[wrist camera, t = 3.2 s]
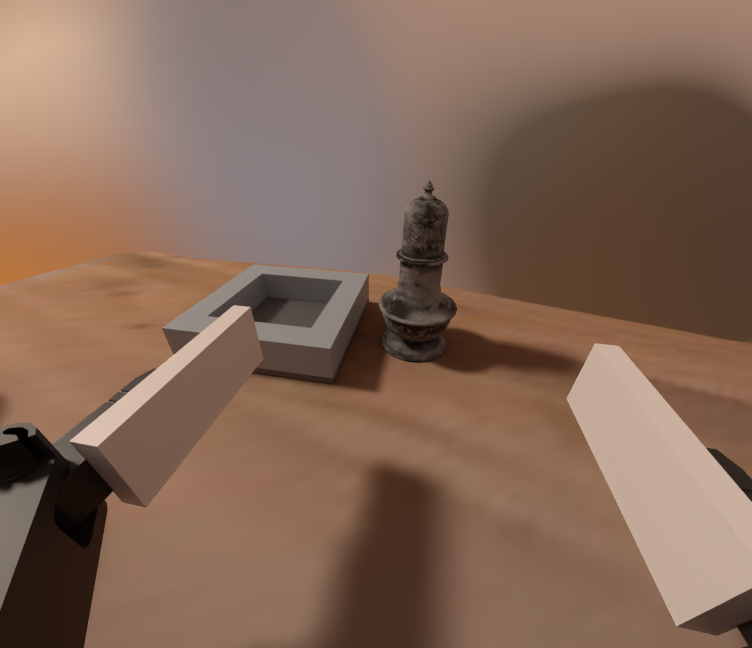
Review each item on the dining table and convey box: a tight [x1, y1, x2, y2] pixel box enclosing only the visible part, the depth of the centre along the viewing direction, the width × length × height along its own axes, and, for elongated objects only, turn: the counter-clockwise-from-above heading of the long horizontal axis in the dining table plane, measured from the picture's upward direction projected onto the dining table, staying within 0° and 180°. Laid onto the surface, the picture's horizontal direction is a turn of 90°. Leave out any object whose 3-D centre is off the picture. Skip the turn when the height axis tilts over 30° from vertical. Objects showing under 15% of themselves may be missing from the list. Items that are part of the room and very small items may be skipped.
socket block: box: [162, 264, 369, 384], centre depth 25 cm, size 12×12×3 cm
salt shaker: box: [379, 181, 457, 362], centre depth 21 cm, size 6×6×12 cm
